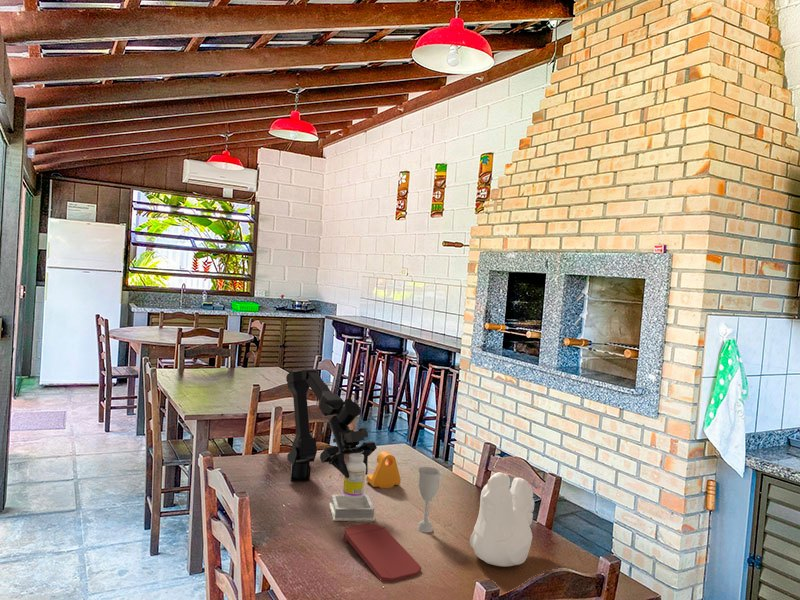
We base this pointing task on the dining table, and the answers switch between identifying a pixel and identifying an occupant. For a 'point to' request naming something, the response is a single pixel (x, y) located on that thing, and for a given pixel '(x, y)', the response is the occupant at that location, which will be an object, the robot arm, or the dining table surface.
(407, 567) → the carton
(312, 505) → the dining table surface
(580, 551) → the dining table surface
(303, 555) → the dining table surface
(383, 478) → the bracket
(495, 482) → the white bunny figurine
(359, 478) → the supplement bottle
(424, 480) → the chalice
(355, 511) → the square shallow tray
